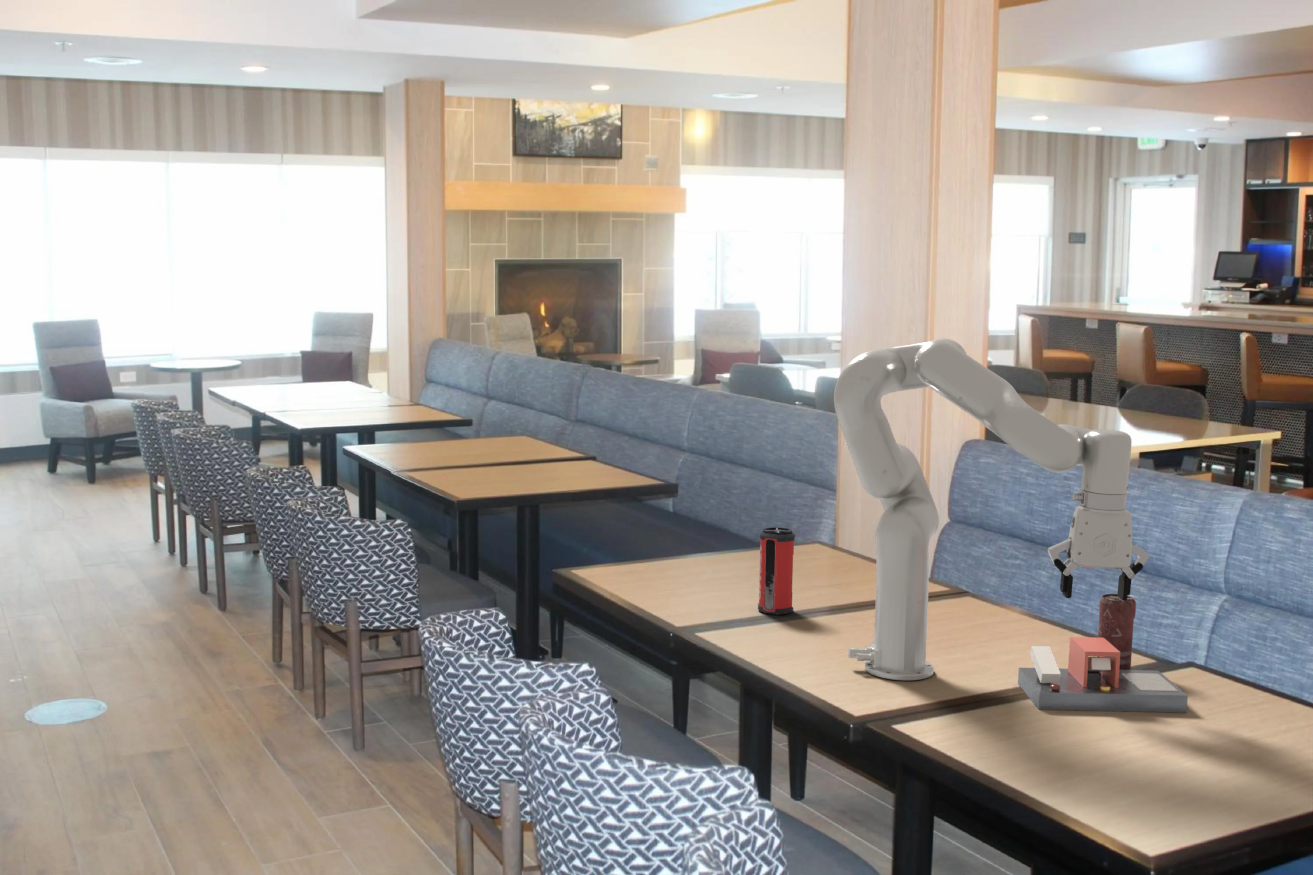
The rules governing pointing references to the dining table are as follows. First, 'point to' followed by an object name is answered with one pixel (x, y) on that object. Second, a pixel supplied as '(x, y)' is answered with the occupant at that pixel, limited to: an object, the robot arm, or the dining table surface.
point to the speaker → (776, 571)
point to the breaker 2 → (1098, 664)
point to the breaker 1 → (1045, 664)
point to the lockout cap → (1092, 647)
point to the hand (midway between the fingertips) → (1094, 597)
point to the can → (1118, 625)
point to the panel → (1105, 692)
